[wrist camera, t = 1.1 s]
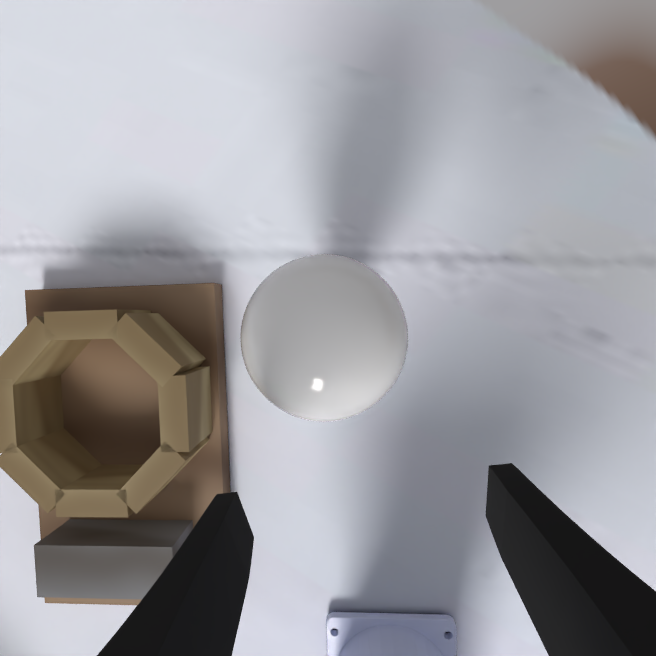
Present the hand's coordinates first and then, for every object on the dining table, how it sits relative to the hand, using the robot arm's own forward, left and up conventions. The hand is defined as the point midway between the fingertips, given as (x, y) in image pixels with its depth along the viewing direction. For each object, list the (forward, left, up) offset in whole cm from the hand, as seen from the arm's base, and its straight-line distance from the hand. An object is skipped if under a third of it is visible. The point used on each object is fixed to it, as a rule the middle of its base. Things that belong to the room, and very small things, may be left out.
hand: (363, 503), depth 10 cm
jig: (-2, +14, -11) cm, 18 cm away
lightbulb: (+5, +1, -12) cm, 13 cm away
